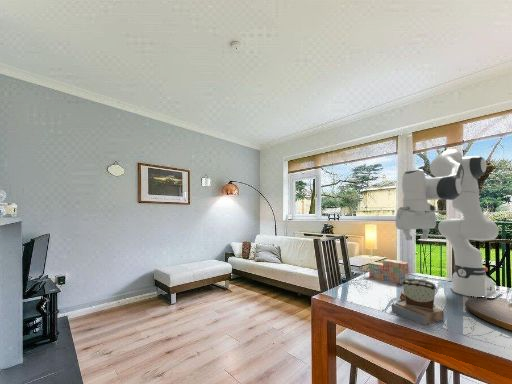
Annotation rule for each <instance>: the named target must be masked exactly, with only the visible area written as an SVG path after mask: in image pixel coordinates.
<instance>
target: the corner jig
mask: <svg viewBox="0 0 512 384" xmlns="http://www.w3.org/2000/svg"><path fill="white" fill-rule="evenodd" d="M402 302H405V301H398V302H394V303H391V312H394V313H395V314H398V315H400V316H402V317H405V318H407V319H409V320H412V321H414V322H417V323H419V324H421V325H423V326H427V325H428V324H427V319H426V316H424V315H421V314H419V313H416V312H414V311H411V310H409V309H406V308H404V307H401V306H399V305H396V304H397V303H402Z"/></svg>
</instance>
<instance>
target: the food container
mask: <svg viewBox="0 0 512 384" xmlns="http://www.w3.org/2000/svg"><path fill="white" fill-rule="evenodd" d="M400 285H401V286H402V288H403V291H404V295H405V302H406V305H410V306H414V307H419V308H424V309H429V310H433V309H434V307H435V306H434V305H435V298H436V297H435V296H436V292H437V291H438V290H437V286H436V285H435V283H434V282H431V281H429V280H424V279H419V278H409V279H403V280H402V283H401V284H400Z"/></svg>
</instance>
